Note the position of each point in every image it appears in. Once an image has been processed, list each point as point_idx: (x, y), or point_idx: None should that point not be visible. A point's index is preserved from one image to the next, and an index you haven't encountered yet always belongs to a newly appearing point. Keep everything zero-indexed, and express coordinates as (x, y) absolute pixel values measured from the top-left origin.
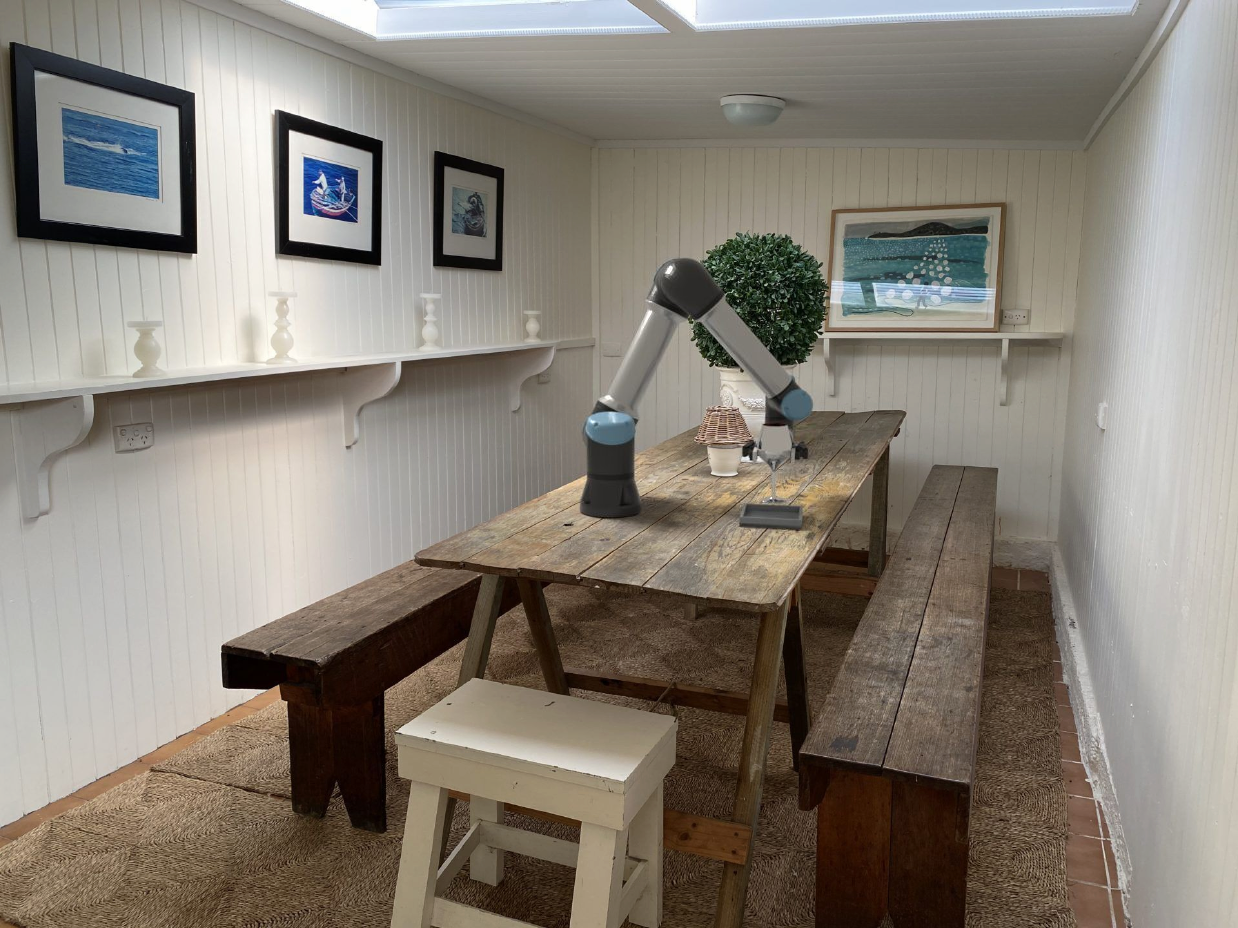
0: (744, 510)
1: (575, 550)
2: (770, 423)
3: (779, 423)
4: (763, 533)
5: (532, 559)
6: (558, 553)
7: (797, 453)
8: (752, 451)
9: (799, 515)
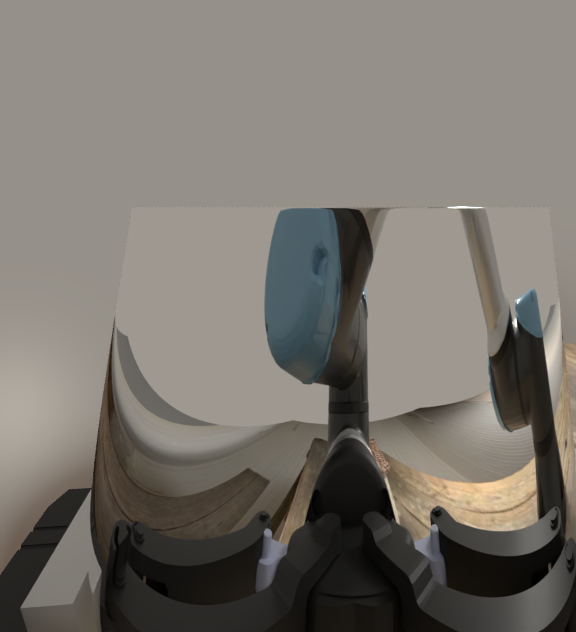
0: None
1: (568, 383)
2: (497, 221)
3: (271, 217)
4: None
5: (567, 356)
6: (570, 372)
7: (83, 492)
8: None
9: None
